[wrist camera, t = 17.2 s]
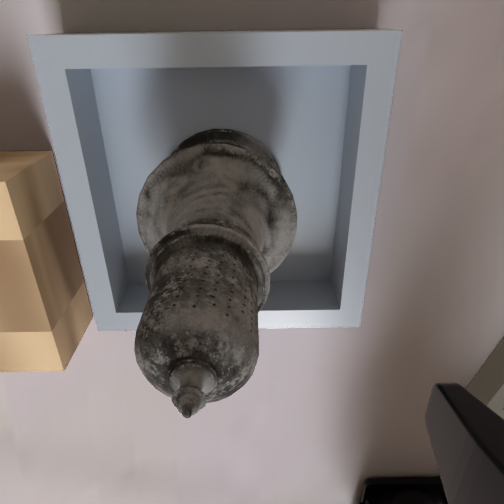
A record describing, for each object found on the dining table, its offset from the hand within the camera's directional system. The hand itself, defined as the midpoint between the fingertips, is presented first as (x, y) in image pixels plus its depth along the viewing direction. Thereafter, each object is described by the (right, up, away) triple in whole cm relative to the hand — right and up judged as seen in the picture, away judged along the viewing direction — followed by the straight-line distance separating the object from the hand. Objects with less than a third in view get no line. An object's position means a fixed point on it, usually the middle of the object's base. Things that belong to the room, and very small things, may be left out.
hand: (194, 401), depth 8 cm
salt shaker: (0, +6, +11) cm, 12 cm away
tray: (0, +6, +11) cm, 12 cm away
